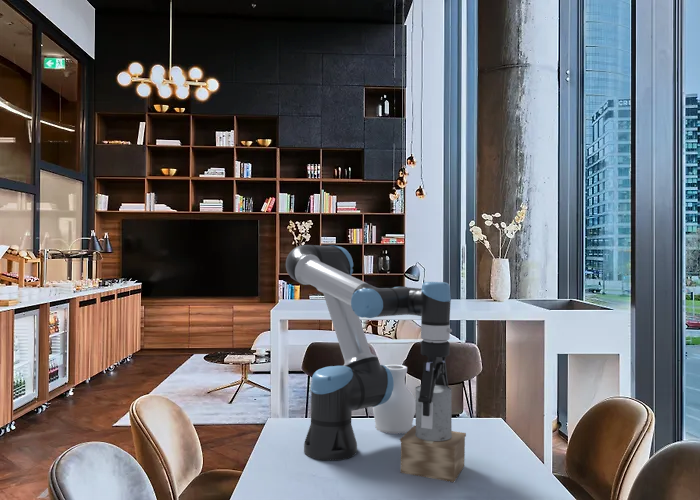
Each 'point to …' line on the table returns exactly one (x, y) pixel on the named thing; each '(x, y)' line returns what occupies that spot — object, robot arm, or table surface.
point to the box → (432, 461)
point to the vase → (396, 405)
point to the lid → (447, 444)
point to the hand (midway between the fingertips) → (433, 421)
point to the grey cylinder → (436, 415)
